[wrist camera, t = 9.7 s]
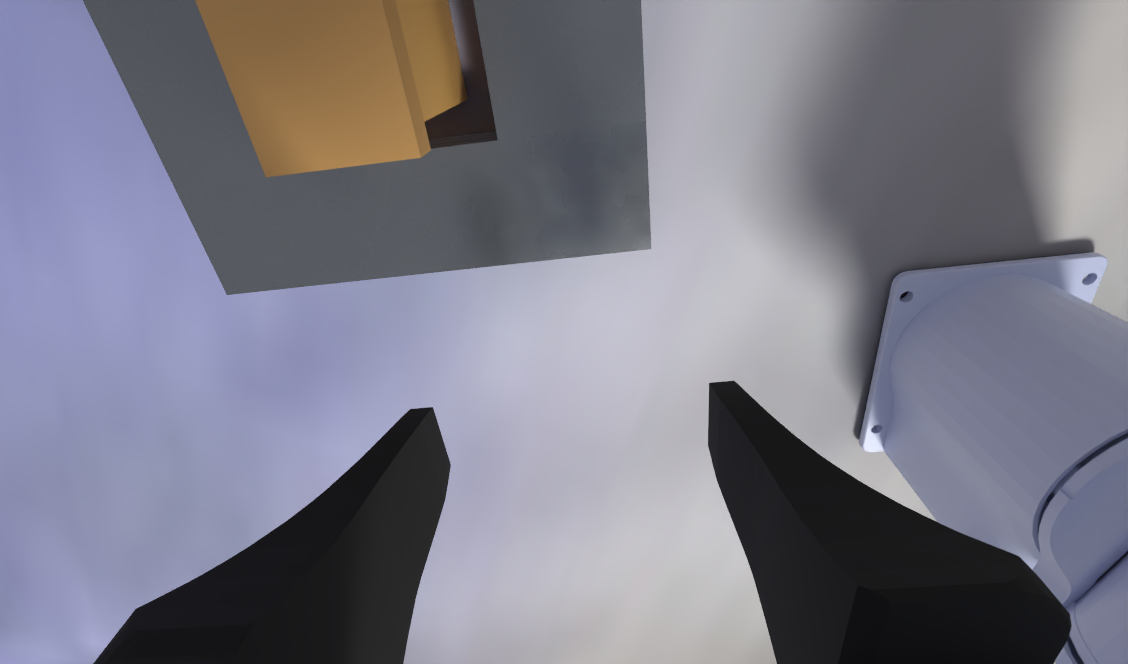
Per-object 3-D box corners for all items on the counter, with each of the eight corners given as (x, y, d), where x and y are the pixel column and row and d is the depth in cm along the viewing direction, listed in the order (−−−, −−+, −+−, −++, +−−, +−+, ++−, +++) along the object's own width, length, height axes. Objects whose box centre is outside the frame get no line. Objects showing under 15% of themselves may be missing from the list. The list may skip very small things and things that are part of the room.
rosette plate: (643, 226, 20) (650, 248, 18) (262, 269, 22) (227, 294, 19) (612, -401, 13) (620, -494, 10) (20, -279, 14) (-83, -339, 12)
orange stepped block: (471, 120, 19) (421, 157, 12) (365, 134, 19) (265, 177, 13) (427, -106, 15) (330, -201, 9) (301, -84, 16) (129, -164, 10)
